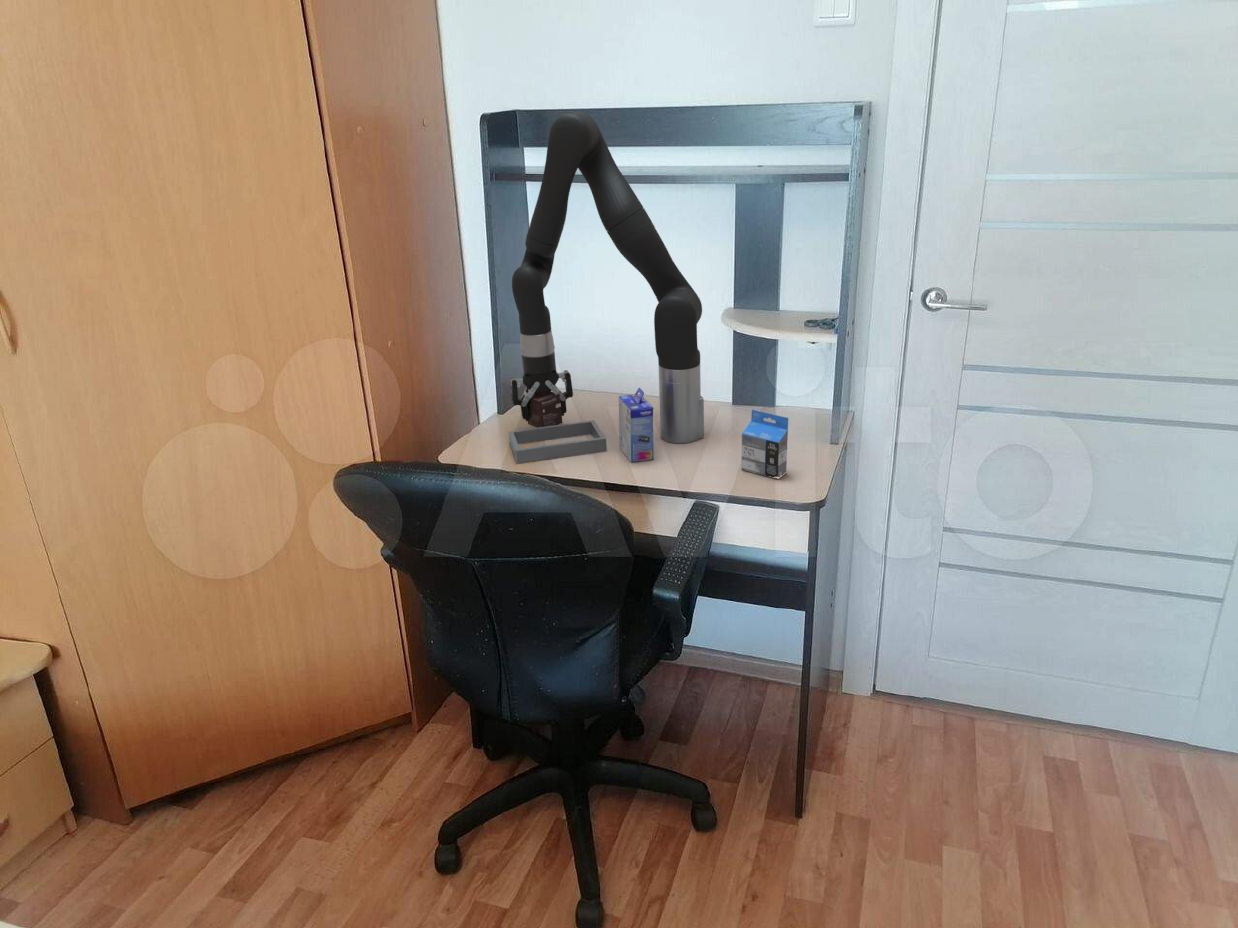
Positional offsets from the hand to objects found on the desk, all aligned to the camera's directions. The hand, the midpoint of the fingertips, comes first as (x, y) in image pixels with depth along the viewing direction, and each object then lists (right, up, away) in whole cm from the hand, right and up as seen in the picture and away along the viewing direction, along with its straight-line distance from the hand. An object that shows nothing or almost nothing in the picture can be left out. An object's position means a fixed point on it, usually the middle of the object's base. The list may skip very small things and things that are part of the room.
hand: (544, 417), depth 213 cm
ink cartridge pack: (+47, -13, -25) cm, 55 cm away
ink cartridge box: (+21, -9, -14) cm, 27 cm away
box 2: (+4, -7, -9) cm, 12 cm away
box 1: (0, -2, +1) cm, 2 cm away
